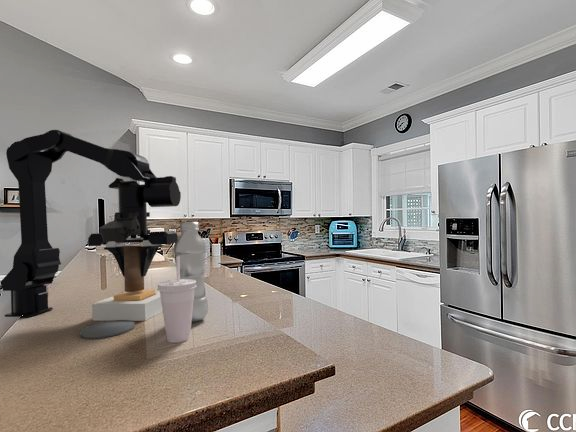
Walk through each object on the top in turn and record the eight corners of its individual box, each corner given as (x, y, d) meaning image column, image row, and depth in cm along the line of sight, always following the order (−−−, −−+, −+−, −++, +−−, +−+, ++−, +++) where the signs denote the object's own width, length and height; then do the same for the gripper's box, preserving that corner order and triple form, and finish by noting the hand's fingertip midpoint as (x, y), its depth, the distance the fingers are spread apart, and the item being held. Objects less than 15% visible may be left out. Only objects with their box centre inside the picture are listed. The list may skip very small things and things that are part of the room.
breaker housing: (92, 320, 69) (92, 303, 69) (127, 305, 81) (126, 291, 81) (145, 320, 68) (145, 303, 68) (173, 305, 80) (172, 291, 80)
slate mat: (68, 338, 58) (68, 335, 58) (102, 322, 67) (102, 319, 67) (114, 338, 57) (114, 335, 57) (143, 322, 66) (143, 319, 66)
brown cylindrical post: (120, 291, 73) (119, 246, 73) (131, 288, 77) (130, 245, 77) (137, 291, 72) (136, 246, 72) (147, 288, 76) (146, 245, 76)
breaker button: (113, 300, 72) (113, 295, 72) (130, 294, 78) (130, 289, 78) (140, 300, 71) (140, 295, 71) (155, 293, 77) (155, 289, 77)
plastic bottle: (167, 324, 64) (164, 223, 65) (189, 315, 71) (187, 222, 71) (194, 327, 62) (191, 222, 62) (215, 317, 68) (212, 221, 69)
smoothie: (203, 332, 59) (201, 254, 59) (189, 345, 53) (186, 258, 53) (169, 332, 60) (167, 255, 60) (151, 345, 53) (149, 259, 54)
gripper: (67, 208, 68) (69, 283, 68) (152, 204, 66) (154, 283, 65) (104, 210, 79) (105, 274, 79) (177, 207, 77) (179, 274, 76)
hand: (134, 276), depth 74 cm, fingers closed on brown cylindrical post, 4 cm apart
